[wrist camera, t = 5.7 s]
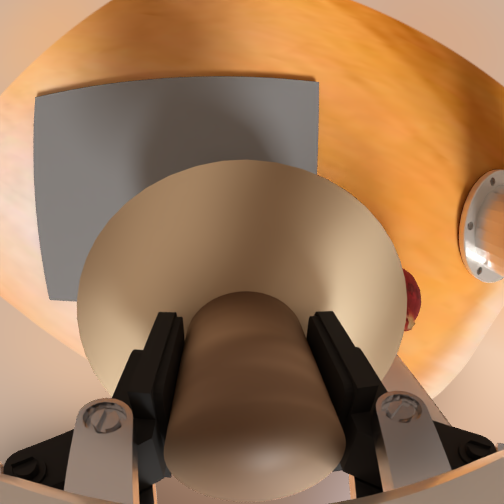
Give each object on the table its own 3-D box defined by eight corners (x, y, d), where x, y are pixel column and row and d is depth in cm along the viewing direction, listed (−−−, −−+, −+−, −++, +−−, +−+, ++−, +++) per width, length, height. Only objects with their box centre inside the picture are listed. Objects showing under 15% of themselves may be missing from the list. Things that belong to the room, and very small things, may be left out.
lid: (414, 172, 10) (542, 198, 5) (362, 425, 14) (404, 519, 8) (72, 165, 10) (-54, 186, 4) (118, 429, 13) (88, 529, 7)
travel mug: (343, 397, 33) (410, 548, 13) (341, 352, 31) (429, 520, 11) (394, 381, 33) (478, 513, 14) (396, 335, 31) (507, 474, 12)
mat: (316, 83, 23) (318, 82, 23) (306, 300, 29) (307, 303, 28) (38, 98, 21) (35, 97, 21) (52, 297, 27) (49, 299, 26)
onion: (334, 265, 28) (370, 305, 20) (390, 244, 28) (440, 274, 20) (347, 320, 30) (381, 368, 22) (399, 298, 29) (443, 338, 22)
